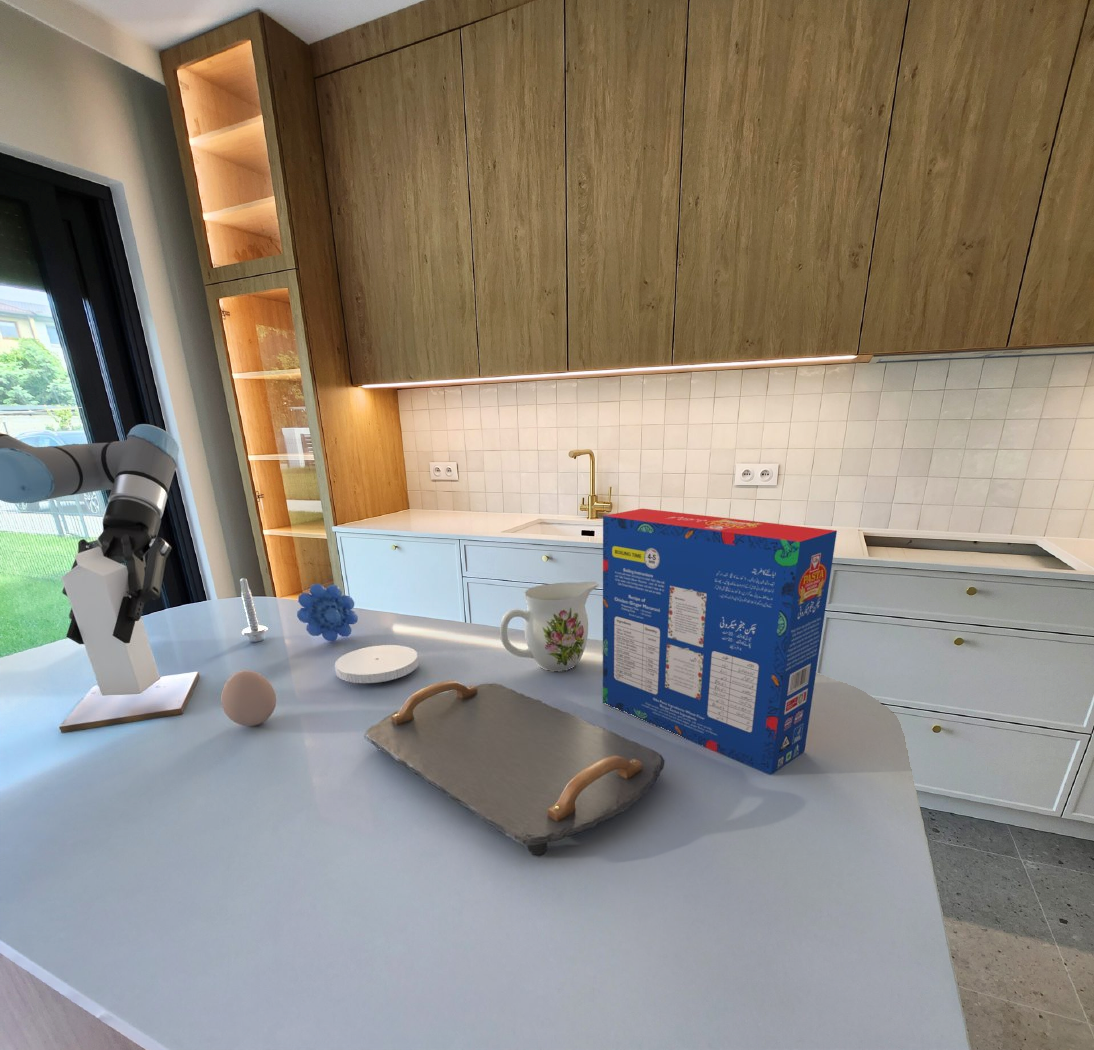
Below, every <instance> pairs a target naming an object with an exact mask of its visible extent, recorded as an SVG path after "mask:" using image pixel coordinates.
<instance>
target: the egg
mask: <svg viewBox="0 0 1094 1050" xmlns="http://www.w3.org/2000/svg"><path fill="white" fill-rule="evenodd" d="M224 683H225V684H224V686H223V688H222V692H221V696H220V700H221V707H222V710H223V712H224V714H225V716H226V717H228V719H229V720H231V721H233V723H235V724H238V725H240V726H244V727H254V726H255V727H256V726H258V725H262V724H263V723H264V722H266V721H267V720H268V719H269V718H270V717H271V716H272V714H273V713H274V710H275V709H276V706H277V695H276V691H275V689H274V687H273V685H272V684H271V682H270V681H269V680H268V679H267V678H266V677H265V676H263V675H262V674H260V673H259V672H256V671H254V670H249V669H248V670H247V669H245V670H244V669H243V670H240V671H237V672H235V673H233V674H232V675H231V676H230V677H229V678H228V679H227V680H226V681H225V682H224Z"/></svg>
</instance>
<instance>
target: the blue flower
mask: <svg viewBox="0 0 1094 1050" xmlns="http://www.w3.org/2000/svg"><path fill="white" fill-rule="evenodd" d="M298 603H299V605H300V606H301V607H300V608H298V610H297V611H296V617H297V619H298V620H299V621H300V622H301V623H303V624H306V631H307V633H308V634H309V635H310V636H312V637H319V636H322V638H323V639H324V640H325V641H327V642H335V641H336V640H337V639H338V638H339V637H338V636H340V637H349V636H350V635H351V634H352V627H351V626H350V625H355V624H357V623H358V620H359V616H358V614H357V613H356V612H355V611H354V610H352V609H354V607H355V601H354V599H353V598H352V596H349V595H343V591H342V589H341V588H340V586H338V585H336V584H330V585H328V586H327V587H326V588H325V587H324V585H322V584H321V583H313V584H312V585H311V586H310V587H309V593H308V592H302V593H300V594H299V595H298Z"/></svg>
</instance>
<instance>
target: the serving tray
mask: <svg viewBox="0 0 1094 1050" xmlns="http://www.w3.org/2000/svg"><path fill="white" fill-rule="evenodd" d="M363 738H364V739H365V740H366V741H367V742H369V744H371V745H373V746H374V747H375V748H376V749H377V750H378V749H380V750H379V751H382V752H383V753H385V754H386V755H388V756H389V757H391V758H392V759H394V760H395V761H396V762H397V763H398V764H401V765H403V766H404V767H406V768H407V769H408V770H409V771H411V772H413V773H414V774H415V775H417V776H419V777H420V778H422V779H424V780H425V781H426V782H427V783H428V784H429V785H432V786H434V787H435V788H436V789H437V790H439V791H440V792H442V793H443V794H445V795H447V796H448V797H449V798H450V799H451V800H454V801H455V802H456V803H458V804H459V805H462V807H464V808H465V809H467V810H469V811H471V812H472V813H473V814H475V815H476V816H477V817H478V818H480V819H481V820H483V821H485V822H487V823H488V824H489V825H491V826H493V827H494V828H495V829H497V830H499V831H500V832H501V833H503V834H504V835H505V836H507V837H508V838H510V839H512V840H513V841H515V842H516V843H518V844H520V845H522V846H526V848H527V851H528V852H529V853H530V854H531V855H532V856H534V857H541V856H543V855H544V853H546V851H547V848H548V845H549V844H548V843H550V842H555V841H559V840H562V839H564V838H566V837H569V836H574V835H576V834H579V833H582V832H586V831H588V830H591V829H593V828H595V827H596V826H598V825H600V824H601V823H604V822H605V821H607V820H610V819H611V818H614V817H616V816H618V815H620V814H622V813H624V812H625V811H627V810H628V809H629V808H630V807H632V806H633V805H634V804H635V803H636V802H638V801H639V800H641V798H642V796H643V795H644V794H645V793H647V792H648V791H649V790H651V788H653V786H654V785H655V783H656V782H657V780H658V777H660V776H661V772H662V771H663V770H664V767H665V761H666V760H665V758H664V756H663V755H662V754H661V753H659V752H657V751H655V750H654V749H652V748H649V747H646V746H645V745H642V744H640V743H638V742H635V741H633V740H630V739H628V738H626V737H623V736H621V735H620V734H617V733H616V732H613V731H610V730H608V729H606V728H603V727H601V726H597V725H594V724H591V723H590V722H587V721H585V720H584V719H582V718H580V717H579V716H576V715H574V714H572V713H570V712H567V711H564V710H561V709H559V708H557V707H553V706H551V705H549V704H547V703H544V702H543V701H542V700H540V699H537V698H533V697H531V696H527V695H525V694H524V693H522V692H521V693H519V692H518V691H516V690H514V689H512V688H509V687H507V686H505V685H502V684H500V683H499V684H498V683H496V682H494V683H481V684H479V685H468V686H465V685H464V684H463V683H460V682H458V681H456V680H445V681H439V682H437V683H434V684H431V685H428V686H426V687H423V688H421V689H420V690H417V691H416V692H414V693H413V694H411V695H410V696H409V697H408V698H407V699H406V700H405V702H404V703H403V705H402V706H401V708H399V709H397V710H396V711H394V712H392V713H391V714H389V715H387V716H385V717H384V718H383V719H381V720H380V721H378V722H377V723H376V724H374V725H371V727H369V728H368V729H367V730H366V731H365V733H364V735H363Z"/></svg>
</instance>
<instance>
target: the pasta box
mask: <svg viewBox="0 0 1094 1050" xmlns="http://www.w3.org/2000/svg"><path fill="white" fill-rule="evenodd" d="M837 533H838V530H835V529H827V528H818V527H817V528H816V527H809V526H802V525H801V526H800V525H790V524H781V523H774V522H764V521H755V520H748V519H739V518H738V519H737V518H729V517H720V516H711V515H703V514H694V513H686V512H678V511H677V512H676V511H667V510H658V509H651V508H638V509H632V510H627V511H621V512H616V513H611V514H606V515H603V516H602V704H603V703H606V704H608V705H610V706H612V707H615V708H618V709H619V710H621V711H625V712H627V713H628V714H632V715H634V716H636V717H638V718H640V719H643V720H645V721H647V722H649V723H648V724H650V723H652V724H655V725H656V726H655V727H657V726H659V727H662V728H664V729H666V730H669V731H671V732H673V733H675V734H678V735H680V736H682V737H684V738H683V739H685V738H686V739H685V740H687V739H688V740H687V741H689V740H691V741H690V742H692V741H693V742H692V743H694V742H695V743H694V744H697V743H698V744H697V745H699V744H700V745H699V746H701V745H703V746H702V747H703V748H706V749H708V748H709V749H708V750H711V751H713V752H715V753H718V754H720V755H723V756H724V757H727V758H729V759H732V760H734V761H736V762H739V763H741V764H744V765H746V766H749V767H750V768H753V769H755V770H757V771H760V772H762V773H764V774H767V775H769V776H772V775H773V774H775V773H776V772H778V771H780V770H781V769H782V768H783V767H785V766H786V765H787V764H789V763H790V762H792V761H793V760H795V759H796V758H798V757H799V756H800V755H802V754H804V752H806V751H805V750H806V744H807V737H808V731H809V730H808V729H809V724H810V718H811V717H810V716H811V711H812V704H813V698H814V697H813V695H814V689H815V681H816V676H817V668H818V662H819V657H820V656H819V655H820V649H821V643H822V635H823V629H824V621H825V615H826V608H827V600H828V593H829V587H830V580H831V575H832V568H833V567H832V566H833V560H834V553H835V548H836V547H835V546H836V542H837V541H836V540H837ZM610 706H609V707H610ZM612 707H611V708H612ZM619 710H618V711H619ZM621 711H620V712H621ZM628 714H627V715H628ZM636 717H635V718H636ZM638 718H637V719H638ZM640 719H639V720H640ZM643 720H642V721H643ZM645 721H644V722H645ZM647 722H646V723H647ZM652 724H651V725H652ZM659 727H658V728H659ZM664 729H663V730H664ZM666 730H665V731H666ZM671 732H670V733H671ZM673 733H672V734H673ZM675 734H674V735H675ZM678 735H677V736H678ZM680 736H679V737H680ZM682 737H681V738H682Z"/></svg>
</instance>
